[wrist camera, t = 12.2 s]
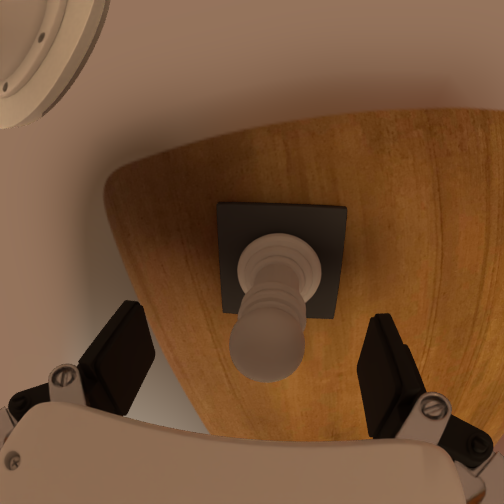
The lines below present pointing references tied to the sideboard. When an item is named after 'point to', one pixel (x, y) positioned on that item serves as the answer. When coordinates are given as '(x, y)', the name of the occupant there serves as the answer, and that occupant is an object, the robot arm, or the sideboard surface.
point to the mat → (287, 222)
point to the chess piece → (273, 306)
